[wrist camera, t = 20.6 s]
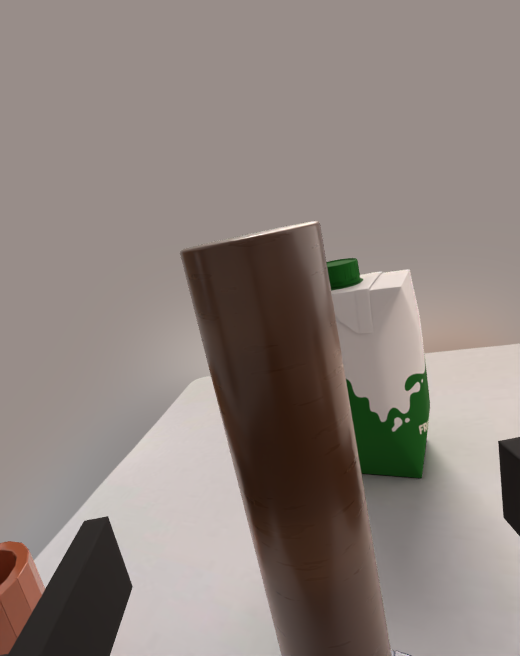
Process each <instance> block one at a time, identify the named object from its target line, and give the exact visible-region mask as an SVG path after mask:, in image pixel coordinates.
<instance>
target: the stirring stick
mask: <svg viewBox="0 0 520 656" xmlns="http://www.w3.org/2000/svg"><path fill="white" fill-rule="evenodd" d="M180 255H181V259H182V263H183V267H184V271H185V274H186V279H187V282H188V286H189V290H190V294H191V298H192V302H193V306H194V310H195V314H196V318H197V322H198V326H199V330H200V334H201V338H202V342H203V346H204V349H205V353H206V358H207V362H208V365H209V370H210V373H211V377H212V381H213V385H214V389H215V393H216V397H217V401H218V405H219V409H220V413H221V417H222V421H223V425H224V429H225V433H226V437H227V441H228V445H229V449H230V453H231V457H232V461H233V465H234V469H235V472H236V476H237V480H238V484H239V488H240V492H241V496H242V500H243V504H244V508H245V512H246V516H247V520H248V524H249V528H250V532H251V536H252V540H253V544H254V548H255V552H256V556H257V560H258V564H259V567H260V571H261V575H262V579H263V583H264V587H265V591H266V595H267V599H268V603H269V607H270V611H271V615H272V619H273V623H274V627H275V631H276V635H277V639H278V643H279V647H280V651H281V655H282V656H392V654H391V648H390V642H389V636H388V630H387V624H386V618H385V612H384V606H383V600H382V594H381V588H380V582H379V576H378V570H377V564H376V558H375V552H374V546H373V540H372V533H371V527H370V521H369V515H368V509H367V503H366V497H365V491H364V485H363V479H362V473H361V467H360V461H359V455H358V449H357V443H356V437H355V431H354V425H353V419H352V413H351V407H350V401H349V395H348V389H347V383H346V377H345V371H344V365H343V359H342V353H341V347H340V341H339V335H338V329H337V323H336V317H335V311H334V305H333V299H332V293H331V287H330V281H329V275H328V269H327V263H326V257H325V251H324V245H323V239H322V233H321V227H320V223H319V222H318V221H312V222H307V223H301V224H295V225H291V226H286V227H281V228H276V229H271V230H266V231H261V232H256V233H252V234H247V235H242V236H238V237H233V238H229V239H224V240H220V241H215V242H211V243H207V244H202V245H198V246H194V247H190V248H186V249H183V250H182V251H181V252H180Z"/></svg>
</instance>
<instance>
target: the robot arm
mask: <svg viewBox="0 0 520 656" xmlns="http://www.w3.org/2000/svg"><path fill="white" fill-rule="evenodd" d="M498 443H499V457H500V472H501V486H502V501H503V515H504V519H505V520H506V521H507V522H508V523H509V524H510V525H511V527H512V528H513V529H514V530H515V531H516V532H517V534H518V535H519V536H520V437H517V438H512V439H507V440H502V441H498ZM131 590H132V584H131V581H130V578H129V575H128V572H127V570H126V567H125V564H124V561H123V558H122V555H121V552H120V550H119V547H118V544H117V541H116V538H115V535H114V532H113V530H112V527H111V524H110V521H109V518H108V516H107V517H102V518H97V519H92V520H87V521H84V522H83V524H82V526H81V527H80V529H79V531H78V533H77V534H76V536H75V538H74V540H73V541H72V543H71V545H70V547H69V548H68V550H67V552H66V554H65V555H64V557H63V559H62V561H61V563H60V564H59V566H58V568H57V570H56V571H55V573H54V575H53V577H52V578H51V580H50V582H49V584H48V585H47V587H46V589H45V591H44V592H43V594H42V596H41V598H40V599H39V601H38V603H37V605H36V606H35V608H34V610H33V612H32V613H31V615H30V617H29V619H28V620H27V622H26V624H25V626H24V627H23V629H22V631H21V633H20V634H19V636H18V638H17V640H16V641H15V643H14V645H13V647H12V648H11V650H10V652H9V654H3V655H0V656H110V653H111V650H112V647H113V644H114V641H115V638H116V635H117V632H118V629H119V626H120V623H121V620H122V617H123V614H124V611H125V608H126V605H127V602H128V599H129V596H130V593H131Z"/></svg>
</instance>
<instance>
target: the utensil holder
mask: <svg viewBox="0 0 520 656" xmlns="http://www.w3.org/2000/svg"><path fill="white" fill-rule="evenodd" d="M44 591H45V587H44V585H43V582H42V580H41V578H40V575H39V573H38V570H37V568H36V566H35V563H34V561H33V558H32V556H31V554H30V551H29V550H28V548H27V547H26V546H25V545H24V544H23V543H19V542H11V541H10V542H9V541H8V542H4V543H0V655H3V654H9V652H10V650H11V648H12V647H13V645H14V643H15V641H16V640H17V638H18V636H19V634H20V633H21V631H22V629H23V627H24V626H25V624H26V622H27V620H28V619H29V617H30V615H31V613H32V612H33V610H34V608H35V606H36V605H37V603H38V601H39V599H40V598H41V596H42V594H43V592H44Z"/></svg>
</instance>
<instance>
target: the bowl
mask: <svg viewBox="0 0 520 656" xmlns="http://www.w3.org/2000/svg"><path fill="white" fill-rule="evenodd" d="M391 654H392V656H411V655H408V654H405V653H402V652H399V651H394V650H391Z"/></svg>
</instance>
